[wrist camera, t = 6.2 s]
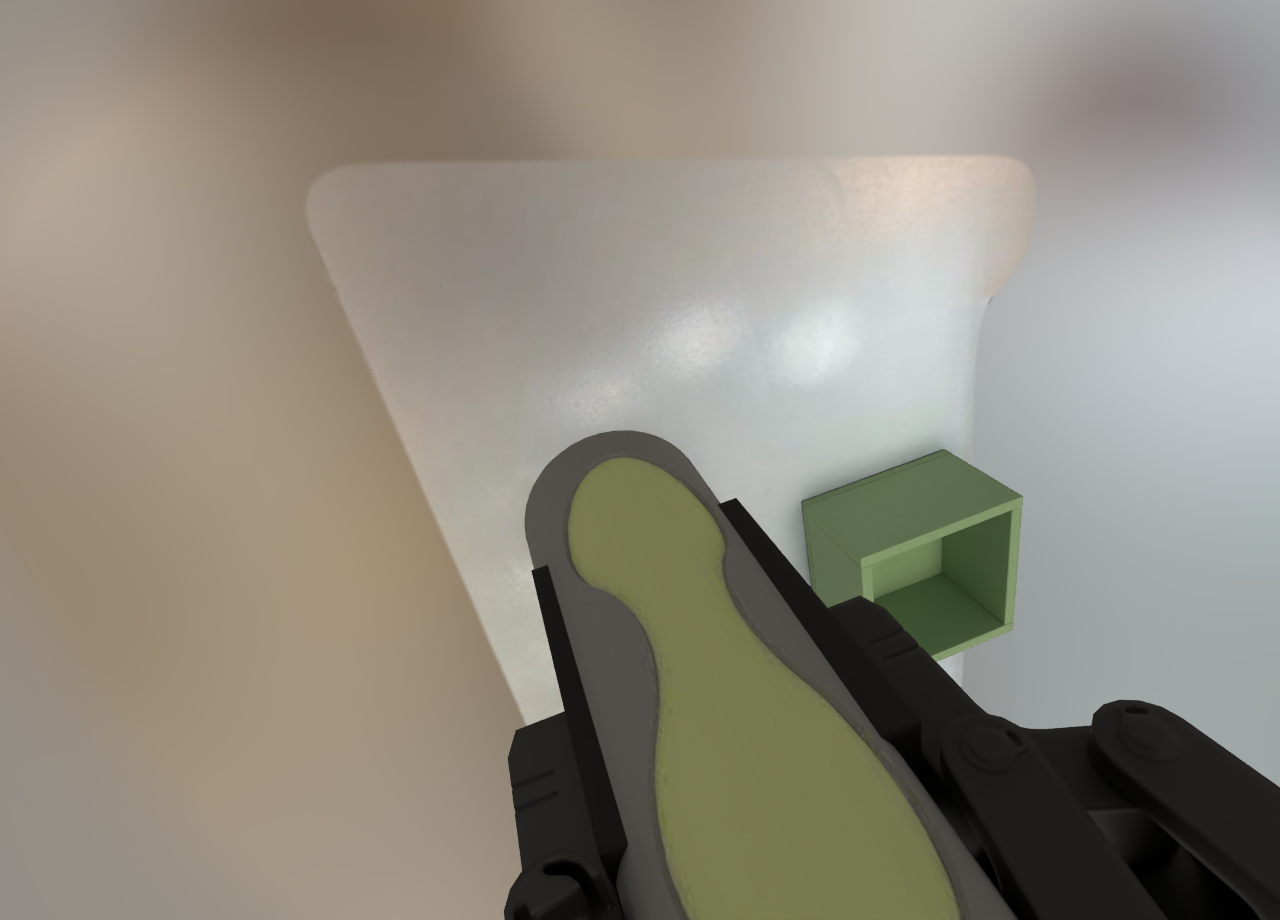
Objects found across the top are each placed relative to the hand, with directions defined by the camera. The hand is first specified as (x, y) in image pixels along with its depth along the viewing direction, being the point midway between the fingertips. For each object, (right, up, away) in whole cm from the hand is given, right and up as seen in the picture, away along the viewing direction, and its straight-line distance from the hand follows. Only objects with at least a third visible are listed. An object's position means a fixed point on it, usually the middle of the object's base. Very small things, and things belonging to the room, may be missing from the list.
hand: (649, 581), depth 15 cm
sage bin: (+16, -3, +30) cm, 34 cm away
